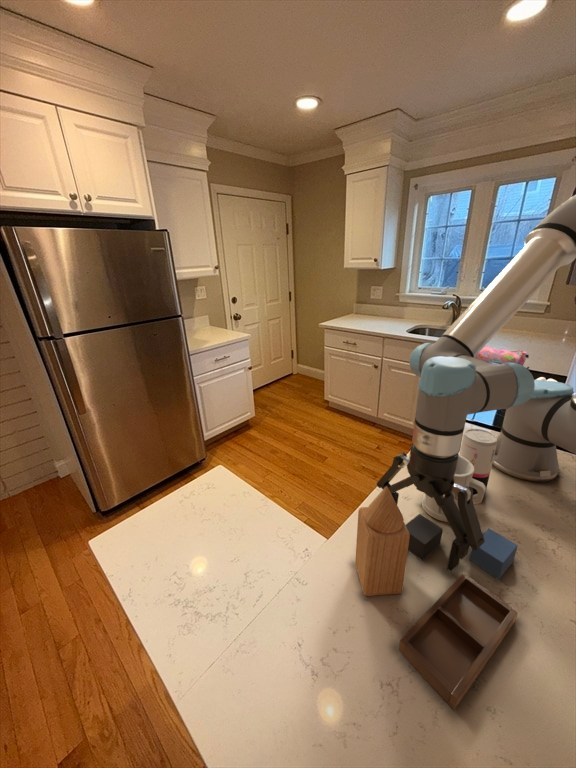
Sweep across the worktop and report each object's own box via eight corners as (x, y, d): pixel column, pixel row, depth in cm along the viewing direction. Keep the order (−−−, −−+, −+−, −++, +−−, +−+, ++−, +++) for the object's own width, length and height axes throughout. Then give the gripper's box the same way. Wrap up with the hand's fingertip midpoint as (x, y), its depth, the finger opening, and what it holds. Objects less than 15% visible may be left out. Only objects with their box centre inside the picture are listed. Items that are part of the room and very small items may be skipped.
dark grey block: (417, 528, 66) (419, 513, 65) (440, 544, 62) (443, 528, 61) (399, 543, 63) (401, 527, 62) (422, 560, 59) (424, 544, 58)
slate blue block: (484, 543, 62) (488, 527, 61) (513, 561, 58) (518, 545, 57) (468, 559, 59) (472, 543, 58) (498, 579, 55) (503, 563, 54)
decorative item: (364, 598, 53) (371, 501, 46) (354, 562, 59) (359, 473, 52) (403, 595, 53) (417, 498, 46) (389, 560, 59) (399, 470, 52)
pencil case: (527, 366, 157) (530, 348, 154) (520, 371, 152) (524, 353, 149) (480, 359, 173) (482, 342, 170) (472, 363, 168) (475, 346, 165)
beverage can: (462, 500, 73) (473, 443, 68) (448, 481, 80) (458, 428, 74) (490, 499, 73) (504, 443, 68) (475, 481, 79) (487, 428, 74)
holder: (461, 581, 55) (463, 572, 54) (515, 621, 49) (518, 611, 48) (398, 649, 46) (399, 640, 45) (454, 710, 40) (457, 700, 39)
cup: (459, 494, 75) (468, 450, 71) (481, 523, 67) (492, 476, 62) (414, 495, 75) (420, 451, 71) (431, 525, 67) (438, 477, 63)
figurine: (549, 374, 132) (531, 374, 132) (565, 383, 125) (546, 383, 125) (544, 385, 135) (526, 385, 134) (559, 395, 128) (541, 395, 127)
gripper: (364, 425, 62) (357, 512, 70) (505, 495, 43) (475, 604, 51) (388, 415, 66) (380, 497, 74) (527, 475, 47) (496, 578, 55)
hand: (418, 541), depth 62 cm, fingers open, 13 cm apart
